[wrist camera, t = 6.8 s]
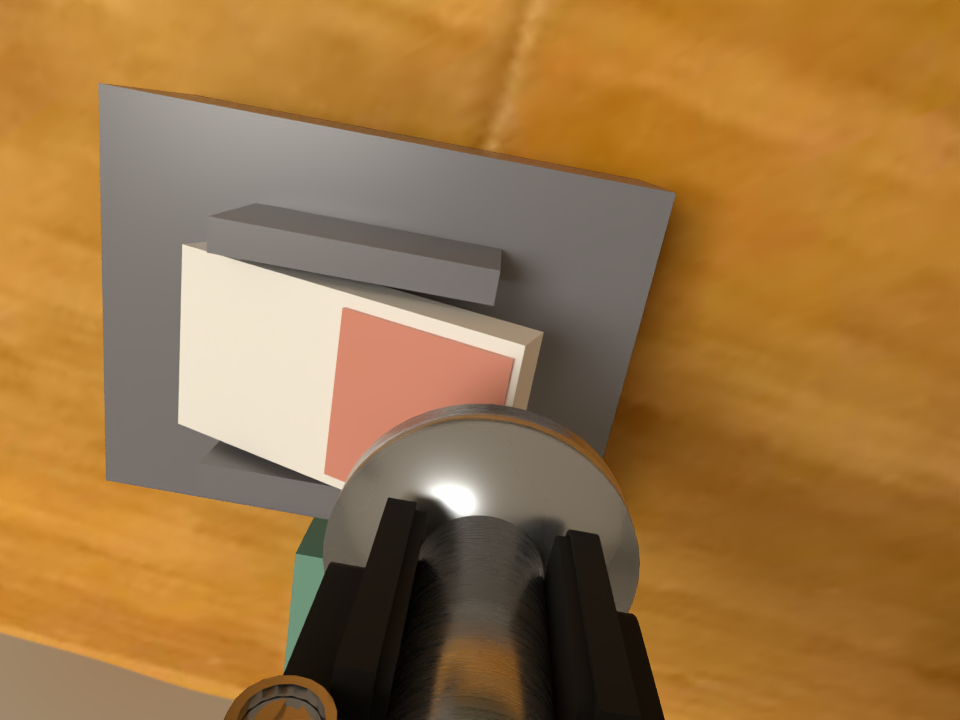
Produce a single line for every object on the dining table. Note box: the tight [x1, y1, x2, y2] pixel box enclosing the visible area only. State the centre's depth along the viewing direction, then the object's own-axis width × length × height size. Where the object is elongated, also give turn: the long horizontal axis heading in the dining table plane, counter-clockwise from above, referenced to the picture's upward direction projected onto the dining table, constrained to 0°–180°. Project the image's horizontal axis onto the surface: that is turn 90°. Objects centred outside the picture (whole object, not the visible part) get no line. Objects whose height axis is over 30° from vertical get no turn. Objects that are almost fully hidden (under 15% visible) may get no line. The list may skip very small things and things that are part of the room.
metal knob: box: [323, 404, 640, 720], centre depth 11 cm, size 6×6×12 cm
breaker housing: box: [99, 83, 676, 520], centre depth 23 cm, size 18×14×10 cm
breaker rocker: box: [178, 241, 544, 490], centre depth 19 cm, size 11×6×2 cm, turn 80°
